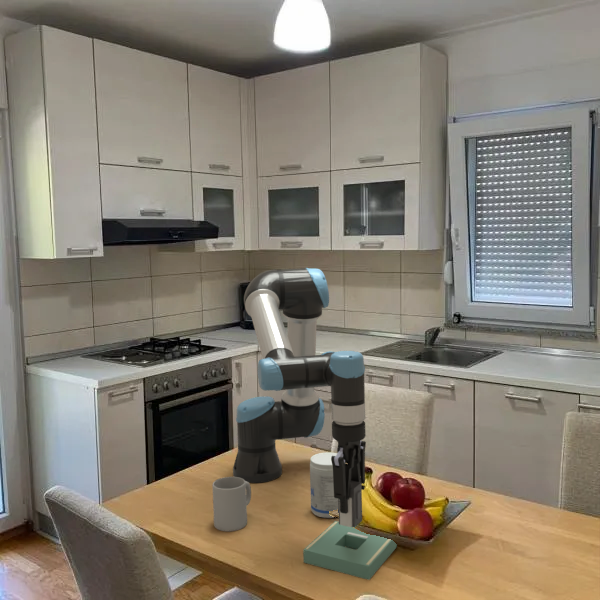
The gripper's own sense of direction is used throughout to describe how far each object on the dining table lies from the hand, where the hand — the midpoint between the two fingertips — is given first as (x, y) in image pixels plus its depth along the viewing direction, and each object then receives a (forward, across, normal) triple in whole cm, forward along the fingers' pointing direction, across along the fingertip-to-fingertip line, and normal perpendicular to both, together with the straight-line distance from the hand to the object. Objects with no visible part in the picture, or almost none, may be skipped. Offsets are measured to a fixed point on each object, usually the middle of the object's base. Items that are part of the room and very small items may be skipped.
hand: (350, 520), depth 144 cm
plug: (0, 0, 0) cm, 0 cm away
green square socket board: (+8, 0, 0) cm, 8 cm away
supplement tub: (+8, -18, -15) cm, 25 cm away
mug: (+8, -2, -34) cm, 35 cm away
